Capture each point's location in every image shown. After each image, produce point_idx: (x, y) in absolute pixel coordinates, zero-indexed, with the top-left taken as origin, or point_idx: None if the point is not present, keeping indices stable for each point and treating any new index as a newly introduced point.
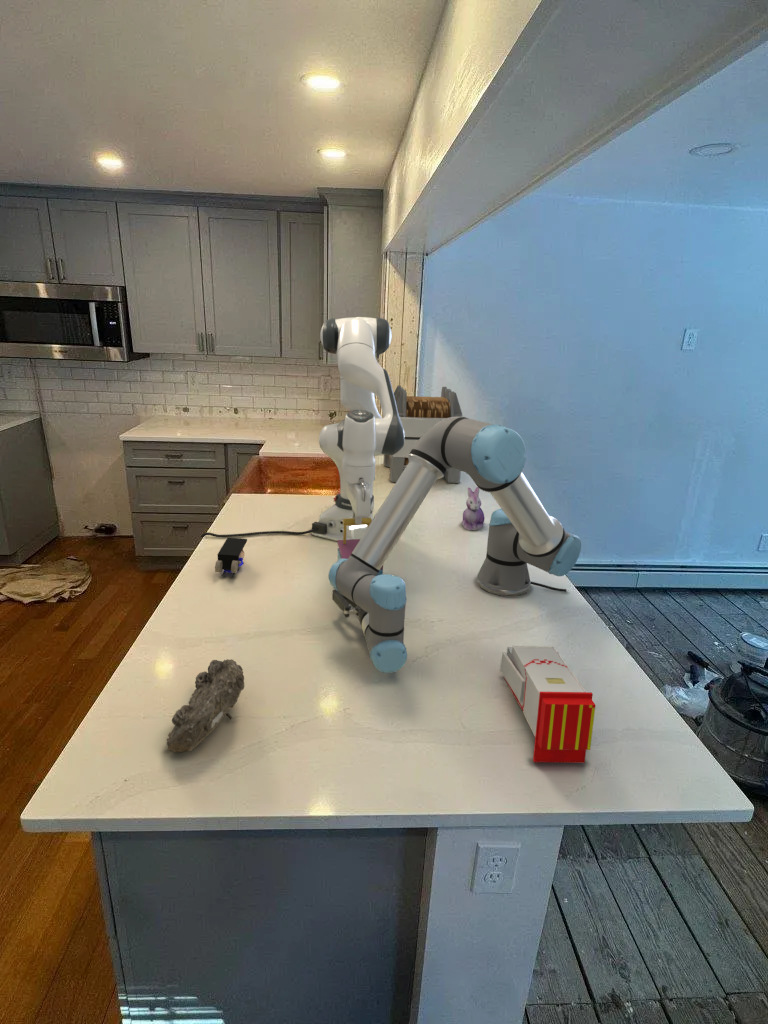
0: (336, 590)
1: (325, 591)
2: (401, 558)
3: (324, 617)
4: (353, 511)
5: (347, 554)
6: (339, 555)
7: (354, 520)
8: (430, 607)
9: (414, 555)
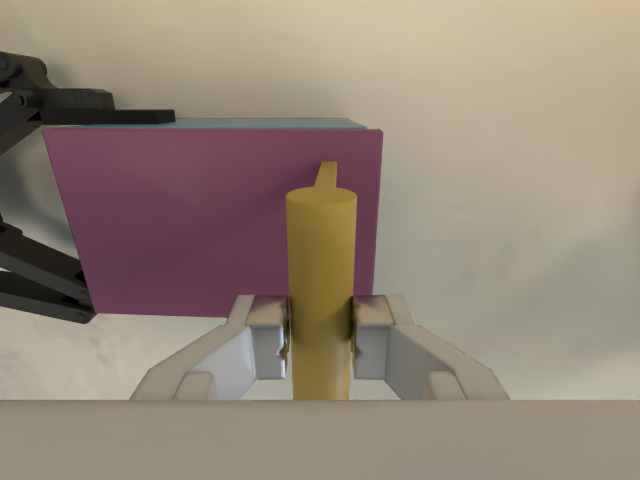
0: (8, 73)
1: (276, 62)
2: (472, 345)
3: (80, 35)
4: (400, 339)
5: (192, 166)
6: (282, 127)
7: (283, 301)
8: (169, 353)
9: None
